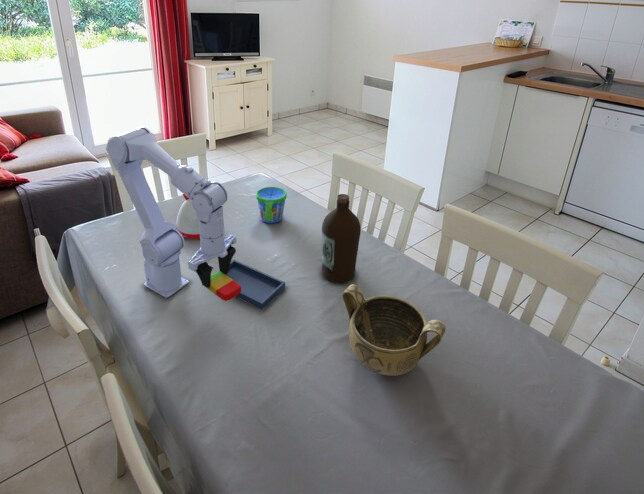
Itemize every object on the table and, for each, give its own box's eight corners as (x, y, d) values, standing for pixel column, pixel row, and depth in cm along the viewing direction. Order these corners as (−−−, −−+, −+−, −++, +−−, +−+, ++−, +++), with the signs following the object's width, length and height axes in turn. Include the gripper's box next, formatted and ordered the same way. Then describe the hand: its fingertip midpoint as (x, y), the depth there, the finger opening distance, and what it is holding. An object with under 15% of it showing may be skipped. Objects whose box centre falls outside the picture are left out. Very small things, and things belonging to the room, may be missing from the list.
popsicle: (225, 303, 101) (225, 297, 100) (189, 275, 111) (188, 269, 110) (243, 292, 105) (243, 286, 104) (206, 266, 114) (206, 260, 114)
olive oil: (345, 259, 130) (350, 185, 120) (363, 280, 121) (371, 201, 111) (313, 267, 126) (316, 191, 116) (330, 289, 117) (334, 209, 107)
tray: (209, 283, 118) (209, 277, 118) (234, 265, 126) (234, 259, 126) (262, 310, 109) (262, 303, 109) (285, 288, 117) (285, 282, 116)
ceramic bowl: (446, 358, 96) (457, 305, 90) (418, 415, 83) (429, 357, 78) (358, 315, 108) (362, 266, 102) (321, 359, 95) (324, 306, 89)
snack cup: (262, 206, 159) (262, 182, 155) (290, 209, 158) (290, 184, 154) (251, 228, 145) (250, 201, 141) (281, 231, 143) (281, 205, 140)
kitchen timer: (214, 239, 139) (211, 198, 133) (171, 238, 139) (167, 197, 133) (221, 217, 152) (219, 179, 146) (182, 216, 152) (179, 178, 146)
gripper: (201, 252, 94) (205, 301, 100) (244, 224, 106) (246, 270, 111) (179, 242, 98) (184, 290, 103) (223, 216, 109) (225, 260, 114)
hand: (215, 279), depth 107 cm, fingers closed on popsicle, 6 cm apart
